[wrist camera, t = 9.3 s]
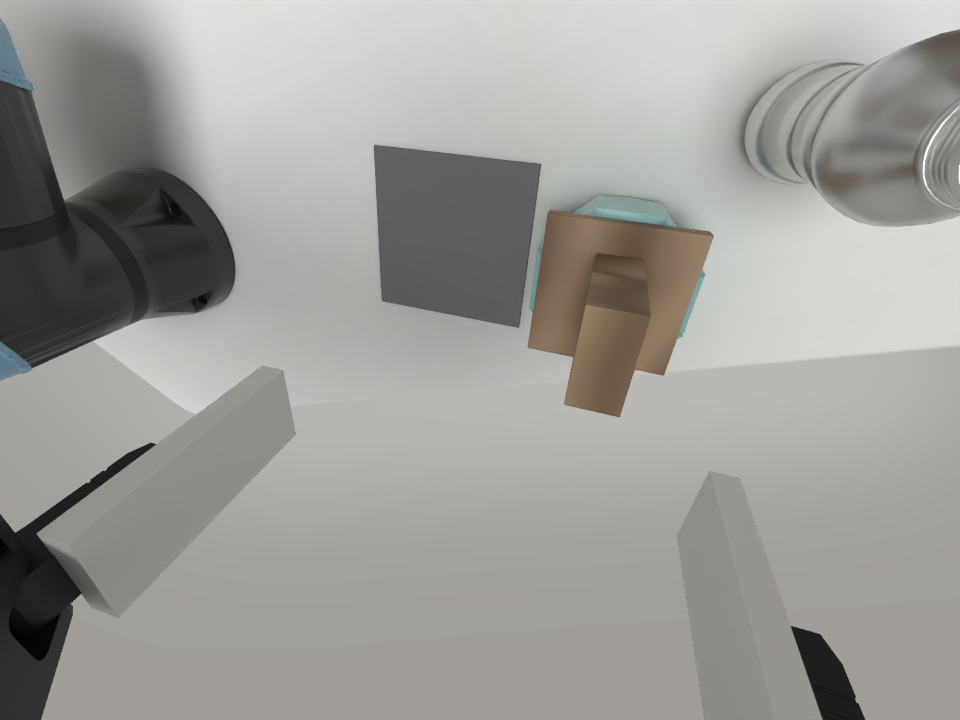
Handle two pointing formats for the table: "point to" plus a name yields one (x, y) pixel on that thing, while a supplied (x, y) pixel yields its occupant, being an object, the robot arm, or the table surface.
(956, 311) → the table surface
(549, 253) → the cover lid
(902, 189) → the plastic bottle
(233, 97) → the table surface
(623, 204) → the bowl
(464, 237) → the mat
